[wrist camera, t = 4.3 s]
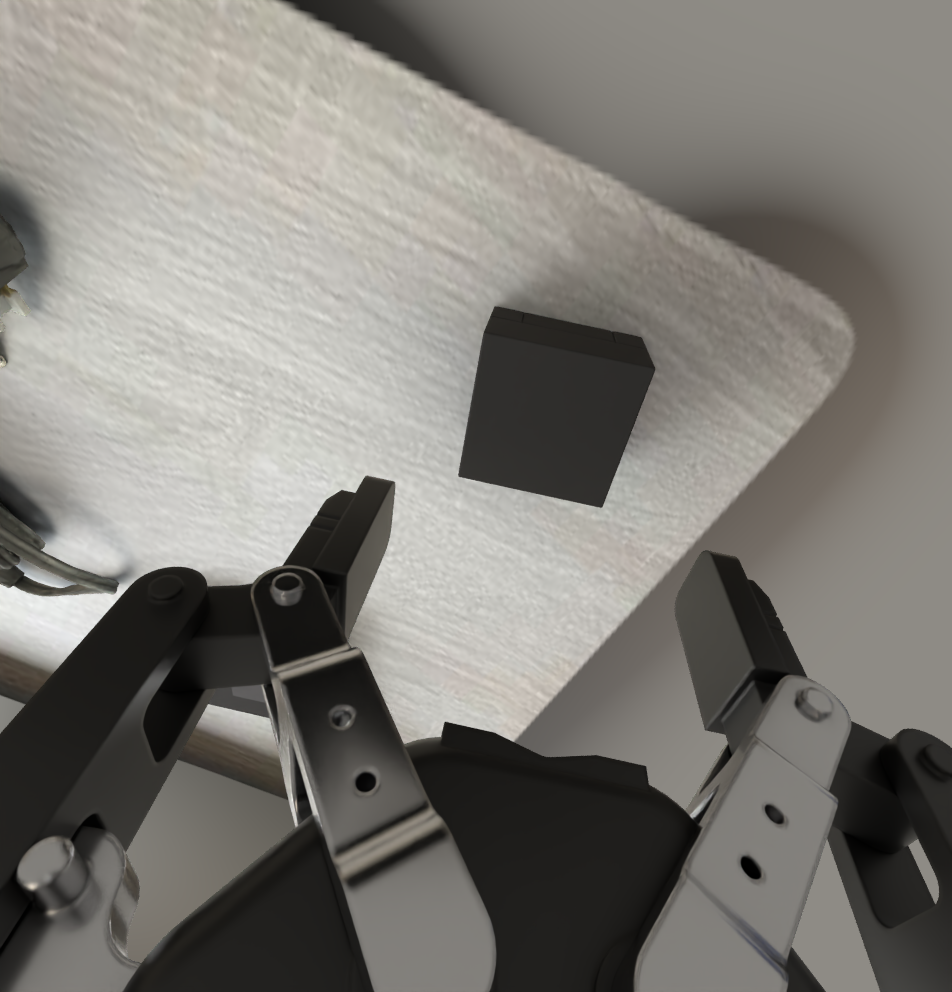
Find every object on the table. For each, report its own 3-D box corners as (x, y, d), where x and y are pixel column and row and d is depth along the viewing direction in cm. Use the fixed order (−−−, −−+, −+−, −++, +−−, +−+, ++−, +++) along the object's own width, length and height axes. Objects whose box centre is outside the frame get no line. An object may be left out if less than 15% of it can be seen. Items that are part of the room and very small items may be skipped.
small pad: (642, 337, 20) (656, 368, 17) (596, 464, 24) (602, 508, 21) (494, 306, 21) (483, 331, 18) (470, 436, 24) (457, 477, 21)
